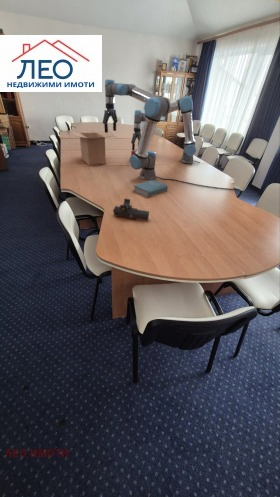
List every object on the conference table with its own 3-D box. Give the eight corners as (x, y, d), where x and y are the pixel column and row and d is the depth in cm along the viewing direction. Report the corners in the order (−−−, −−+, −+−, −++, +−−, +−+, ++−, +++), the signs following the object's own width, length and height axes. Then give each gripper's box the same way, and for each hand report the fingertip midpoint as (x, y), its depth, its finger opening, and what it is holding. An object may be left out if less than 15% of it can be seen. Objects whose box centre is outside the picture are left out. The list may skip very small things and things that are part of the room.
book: (152, 185, 190) (153, 179, 187) (167, 191, 181) (167, 185, 178) (133, 191, 176) (133, 185, 173) (147, 198, 167) (148, 191, 164)
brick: (134, 158, 255) (134, 149, 249) (140, 160, 252) (140, 151, 246) (131, 160, 250) (131, 151, 244) (137, 161, 247) (138, 152, 241)
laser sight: (146, 223, 136) (147, 209, 130) (111, 218, 139) (111, 203, 133) (149, 216, 144) (150, 202, 138) (115, 211, 147) (115, 197, 141)
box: (116, 165, 229) (116, 136, 213) (83, 168, 214) (80, 137, 198) (102, 154, 259) (101, 128, 243) (71, 156, 244) (68, 129, 228)
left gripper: (114, 102, 193) (114, 129, 205) (97, 102, 174) (98, 132, 187) (121, 103, 190) (121, 130, 203) (105, 103, 172) (106, 134, 184)
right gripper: (139, 125, 242) (138, 146, 254) (128, 128, 223) (127, 150, 236) (145, 126, 239) (144, 147, 252) (135, 129, 221) (133, 151, 234)
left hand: (110, 131), depth 195 cm, fingers open, 13 cm apart
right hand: (136, 149), depth 244 cm, fingers open, 13 cm apart
